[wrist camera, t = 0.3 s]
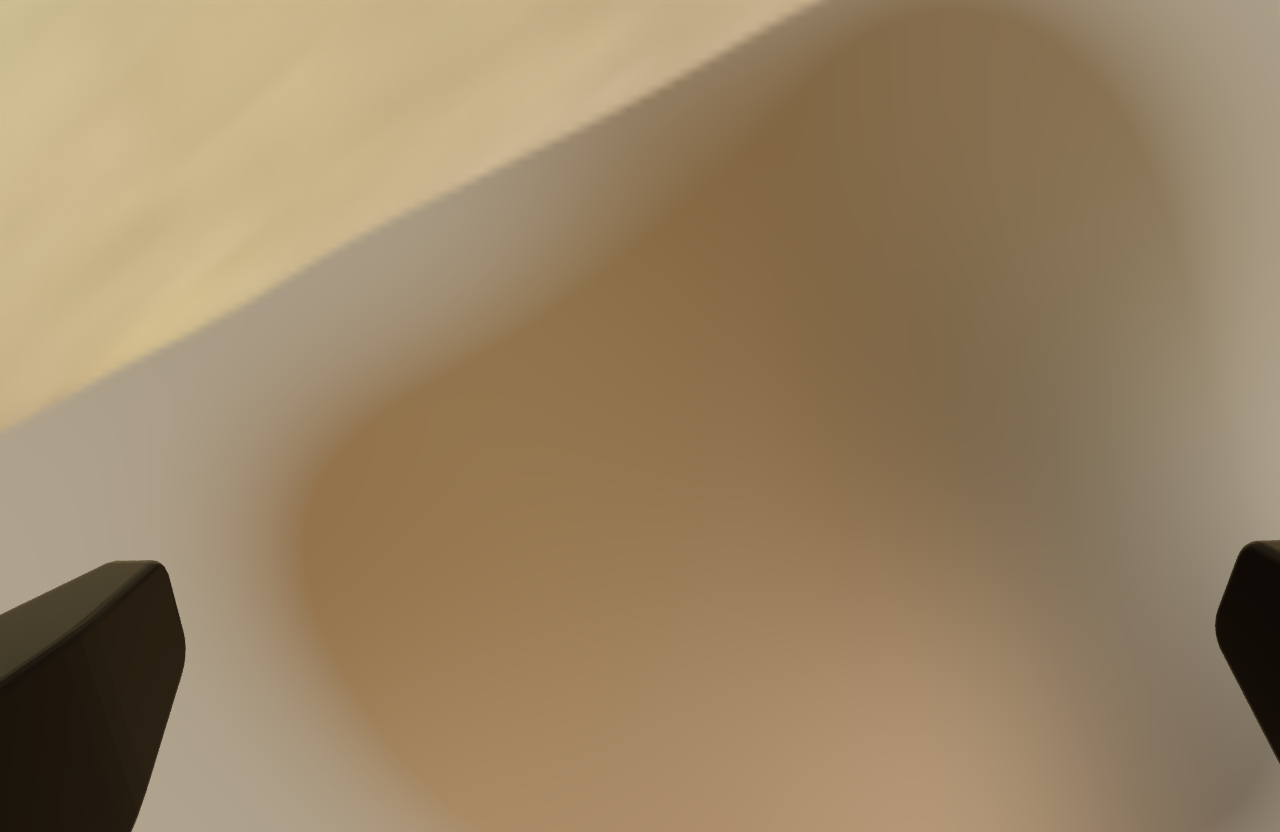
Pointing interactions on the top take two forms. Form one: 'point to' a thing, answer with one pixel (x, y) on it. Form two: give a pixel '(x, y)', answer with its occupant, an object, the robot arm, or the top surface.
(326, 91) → the top surface
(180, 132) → the top surface
